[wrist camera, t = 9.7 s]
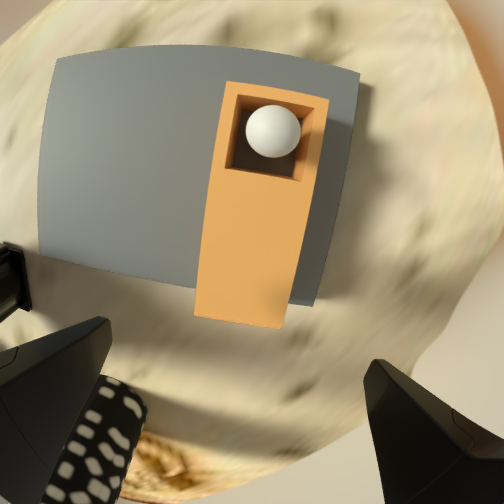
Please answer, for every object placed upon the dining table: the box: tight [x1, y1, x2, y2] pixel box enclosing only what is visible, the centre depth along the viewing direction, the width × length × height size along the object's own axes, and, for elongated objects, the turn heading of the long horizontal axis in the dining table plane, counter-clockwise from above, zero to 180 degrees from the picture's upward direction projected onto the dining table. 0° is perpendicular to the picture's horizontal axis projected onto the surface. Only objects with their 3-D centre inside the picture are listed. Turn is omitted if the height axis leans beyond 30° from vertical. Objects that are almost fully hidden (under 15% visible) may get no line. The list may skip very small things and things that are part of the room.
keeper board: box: [37, 45, 360, 307], centre depth 13 cm, size 16×22×9 cm
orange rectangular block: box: [194, 81, 329, 329], centre depth 15 cm, size 12×5×4 cm, turn 170°
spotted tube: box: [40, 375, 148, 504], centre depth 16 cm, size 8×8×20 cm
